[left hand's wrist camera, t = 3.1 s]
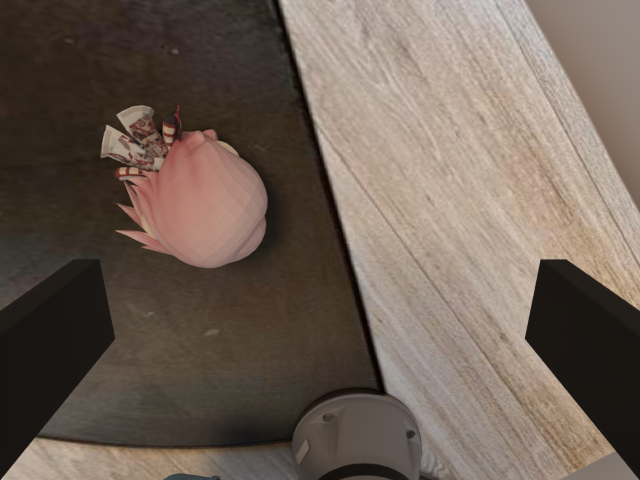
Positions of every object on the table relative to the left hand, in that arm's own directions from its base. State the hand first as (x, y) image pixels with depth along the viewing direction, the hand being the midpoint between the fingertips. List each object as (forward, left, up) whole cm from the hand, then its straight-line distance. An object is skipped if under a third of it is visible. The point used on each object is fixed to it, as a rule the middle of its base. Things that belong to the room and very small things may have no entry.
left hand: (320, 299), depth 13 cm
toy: (+10, +6, -28) cm, 30 cm away
